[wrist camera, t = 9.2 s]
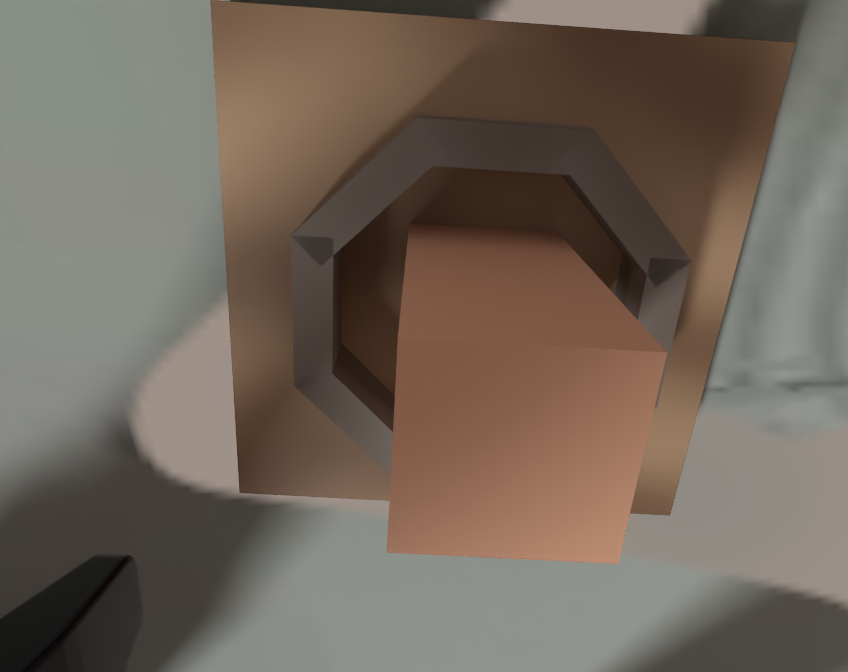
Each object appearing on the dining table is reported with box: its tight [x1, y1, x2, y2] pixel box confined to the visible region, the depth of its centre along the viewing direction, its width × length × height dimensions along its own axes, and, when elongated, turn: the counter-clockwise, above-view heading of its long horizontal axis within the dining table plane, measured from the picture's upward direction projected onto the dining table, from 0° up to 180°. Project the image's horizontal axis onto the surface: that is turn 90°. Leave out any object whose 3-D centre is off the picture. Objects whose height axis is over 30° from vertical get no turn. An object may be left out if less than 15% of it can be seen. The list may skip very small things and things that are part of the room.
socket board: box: [210, 0, 796, 515], centre depth 17 cm, size 14×14×3 cm
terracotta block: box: [387, 223, 667, 564], centre depth 13 cm, size 4×4×8 cm
